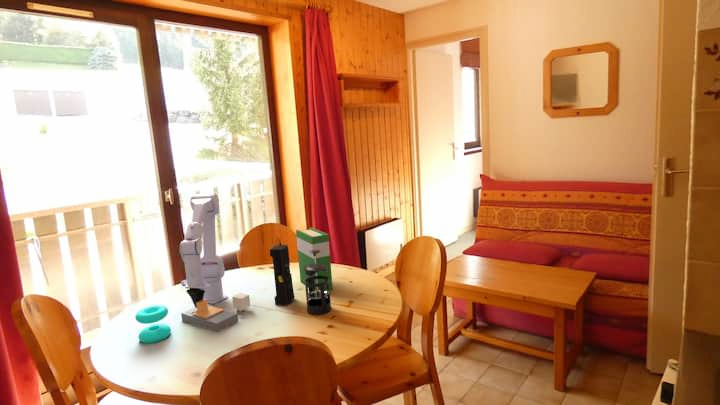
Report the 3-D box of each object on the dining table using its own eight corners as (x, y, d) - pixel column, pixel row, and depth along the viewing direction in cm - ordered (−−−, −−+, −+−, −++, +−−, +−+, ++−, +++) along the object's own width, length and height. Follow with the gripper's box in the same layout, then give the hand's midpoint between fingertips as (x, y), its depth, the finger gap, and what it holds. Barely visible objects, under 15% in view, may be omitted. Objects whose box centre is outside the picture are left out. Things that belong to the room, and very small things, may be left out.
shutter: (192, 315, 155) (191, 304, 155) (209, 307, 162) (208, 297, 161) (206, 318, 151) (205, 308, 150) (223, 310, 157) (222, 300, 157)
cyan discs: (138, 306, 148) (169, 302, 151) (142, 333, 150) (173, 328, 152) (131, 318, 139) (165, 312, 141) (136, 347, 140) (169, 341, 143)
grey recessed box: (182, 321, 158) (181, 313, 158) (202, 311, 166) (201, 304, 165) (218, 331, 148) (217, 323, 147) (238, 321, 155) (237, 313, 154)
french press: (337, 311, 158) (332, 251, 154) (314, 318, 153) (308, 256, 150) (323, 301, 168) (318, 245, 164) (300, 307, 163) (295, 249, 160)
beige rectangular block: (233, 311, 164) (232, 296, 163) (241, 307, 167) (240, 292, 166) (243, 313, 161) (241, 298, 160) (250, 309, 165) (249, 294, 164)
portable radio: (288, 306, 165) (282, 244, 161) (273, 306, 167) (267, 244, 163) (295, 298, 173) (289, 238, 169) (281, 298, 174) (275, 238, 170)
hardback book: (300, 282, 192) (295, 230, 188) (315, 278, 196) (311, 227, 192) (316, 293, 177) (311, 237, 173) (332, 289, 180) (328, 234, 177)
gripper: (172, 272, 157) (177, 307, 159) (197, 277, 149) (202, 314, 152) (188, 266, 163) (193, 300, 165) (213, 271, 155) (218, 306, 157)
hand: (198, 306), depth 159 cm, fingers closed
